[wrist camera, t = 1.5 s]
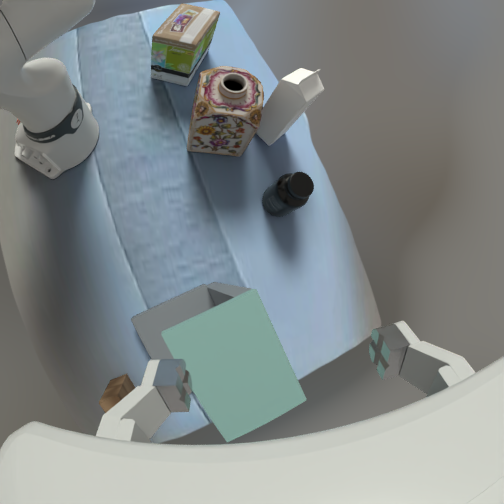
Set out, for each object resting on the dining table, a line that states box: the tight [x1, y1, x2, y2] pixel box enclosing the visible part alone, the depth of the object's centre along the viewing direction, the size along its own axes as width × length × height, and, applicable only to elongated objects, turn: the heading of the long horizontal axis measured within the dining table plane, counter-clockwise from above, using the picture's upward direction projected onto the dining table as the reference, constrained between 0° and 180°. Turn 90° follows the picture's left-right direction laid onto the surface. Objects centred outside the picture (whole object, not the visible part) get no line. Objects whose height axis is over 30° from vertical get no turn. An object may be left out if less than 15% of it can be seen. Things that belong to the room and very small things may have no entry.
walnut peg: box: [99, 374, 135, 413], centre depth 41 cm, size 4×4×11 cm
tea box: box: [151, 4, 220, 86], centre depth 47 cm, size 15×10×15 cm, turn 165°
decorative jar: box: [187, 66, 264, 156], centre depth 47 cm, size 12×12×18 cm
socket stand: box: [131, 282, 306, 442], centre depth 37 cm, size 17×15×28 cm
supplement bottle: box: [262, 172, 314, 217], centre depth 52 cm, size 7×7×12 cm
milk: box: [256, 68, 324, 146], centre depth 48 cm, size 6×6×22 cm
